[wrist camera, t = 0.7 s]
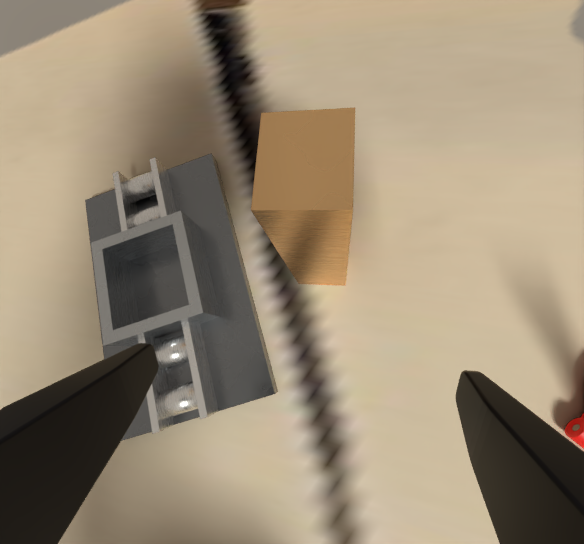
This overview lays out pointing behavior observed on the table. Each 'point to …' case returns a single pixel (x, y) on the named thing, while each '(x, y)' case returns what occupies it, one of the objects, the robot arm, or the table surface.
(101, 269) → the grey fixture tray
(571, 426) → the tow hook
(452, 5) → the table surface
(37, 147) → the table surface
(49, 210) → the table surface
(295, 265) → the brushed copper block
